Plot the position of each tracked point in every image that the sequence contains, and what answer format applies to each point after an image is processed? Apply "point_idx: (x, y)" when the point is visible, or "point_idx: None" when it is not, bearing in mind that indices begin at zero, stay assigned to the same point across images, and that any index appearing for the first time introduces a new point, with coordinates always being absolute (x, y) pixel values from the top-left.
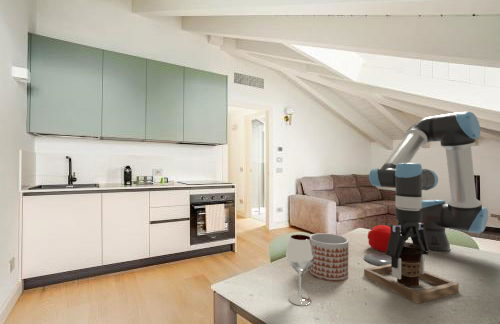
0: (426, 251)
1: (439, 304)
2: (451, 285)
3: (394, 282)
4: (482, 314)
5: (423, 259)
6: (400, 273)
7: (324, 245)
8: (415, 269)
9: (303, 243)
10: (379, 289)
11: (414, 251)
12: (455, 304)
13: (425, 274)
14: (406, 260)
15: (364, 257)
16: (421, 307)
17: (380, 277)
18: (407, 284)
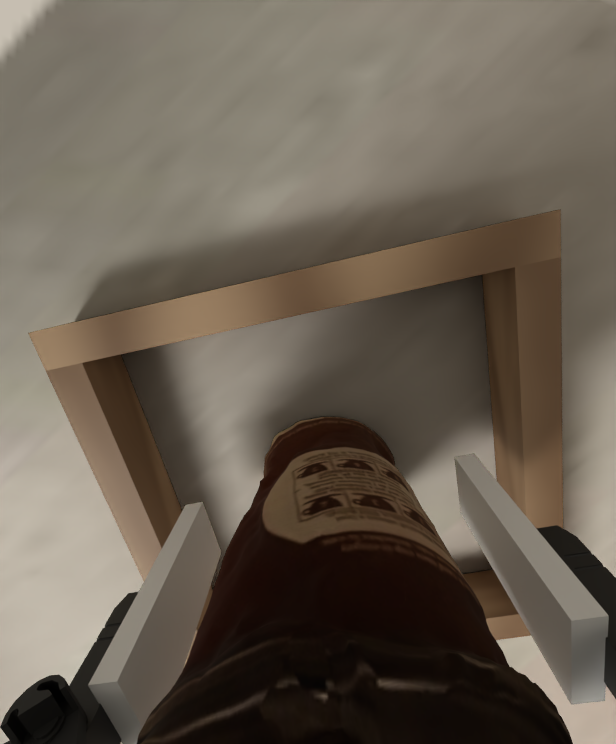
0: (12, 740)
1: (363, 189)
2: (109, 320)
3: (543, 425)
4: (164, 4)
5: (135, 617)
6: (486, 482)
7: None
8: (353, 483)
9: None
10: (594, 428)
11: (445, 735)
12: (244, 172)
13: (155, 515)
14: (465, 590)
15: None
16: (535, 170)
17: (560, 513)
18: (376, 439)
